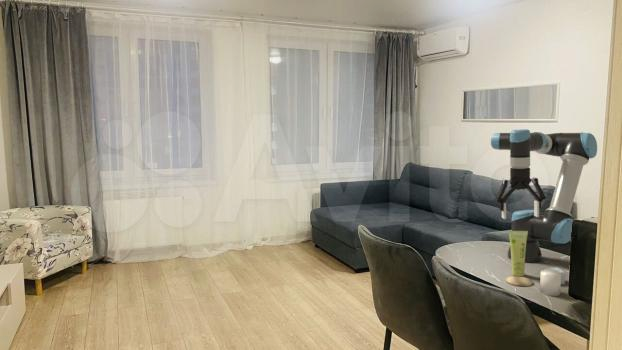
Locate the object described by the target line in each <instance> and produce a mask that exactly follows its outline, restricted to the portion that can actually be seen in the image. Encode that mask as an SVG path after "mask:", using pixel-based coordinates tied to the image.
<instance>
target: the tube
mask: <svg viewBox="0 0 622 350" xmlns="http://www.w3.org/2000/svg"><path fill="white" fill-rule="evenodd" d="M527 234H528V231H512V230H508V235H509V247H510V246H511V259H510V261H511V263H510V264H511V276H520V277H524V276H525V269H526V268H525V267H526V266H525V264H526V262H525V251H526V241H527Z"/></svg>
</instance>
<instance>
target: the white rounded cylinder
mask: <svg viewBox="0 0 622 350" xmlns="http://www.w3.org/2000/svg"><path fill="white" fill-rule="evenodd" d="M539 279H540V280H539V281H540V282H539V283H540V285H539V289H540V290H539V292H540V293H541V295H543V296H544V295H545V296H547V297H549V296H550V297H559V296H561V292H562V291H561V289H562V287H561V286H562V284H561V273H560V272H558V271H554V270H543V269H542V270H540V277H539ZM558 295H559V296H558Z"/></svg>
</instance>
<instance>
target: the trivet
mask: <svg viewBox="0 0 622 350" xmlns="http://www.w3.org/2000/svg"><path fill="white" fill-rule="evenodd" d="M505 283H507V284H509V285H512V286H515V287H530V286H533V280H532V279H530V278H528V277H524V276H514V275H511V276H508V277H505Z"/></svg>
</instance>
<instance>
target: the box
mask: <svg viewBox="0 0 622 350" xmlns="http://www.w3.org/2000/svg"><path fill="white" fill-rule="evenodd" d="M542 270H554V271H558V272H560V273H561V285H565V284H566V271H563V270H562V269H561V268H560V267H543V268H542Z"/></svg>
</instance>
